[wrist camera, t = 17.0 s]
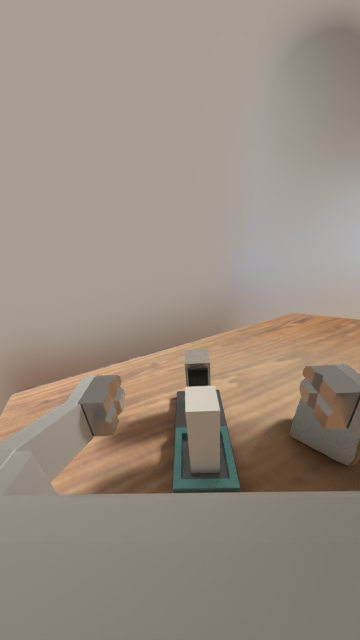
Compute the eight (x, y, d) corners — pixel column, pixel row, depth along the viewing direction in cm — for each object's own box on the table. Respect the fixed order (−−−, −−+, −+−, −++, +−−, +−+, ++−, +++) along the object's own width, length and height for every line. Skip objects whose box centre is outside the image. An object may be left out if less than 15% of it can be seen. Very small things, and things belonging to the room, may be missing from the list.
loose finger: (190, 442, 31) (185, 384, 26) (214, 441, 30) (214, 383, 26) (191, 473, 27) (185, 411, 22) (219, 472, 26) (220, 410, 22)
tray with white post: (177, 396, 42) (171, 343, 36) (218, 395, 41) (219, 341, 36) (172, 501, 25) (160, 432, 20) (241, 500, 25) (248, 429, 19)
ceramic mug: (352, 482, 25) (371, 444, 22) (285, 445, 30) (293, 410, 28) (354, 426, 33) (368, 391, 30) (299, 403, 38) (307, 372, 35)
